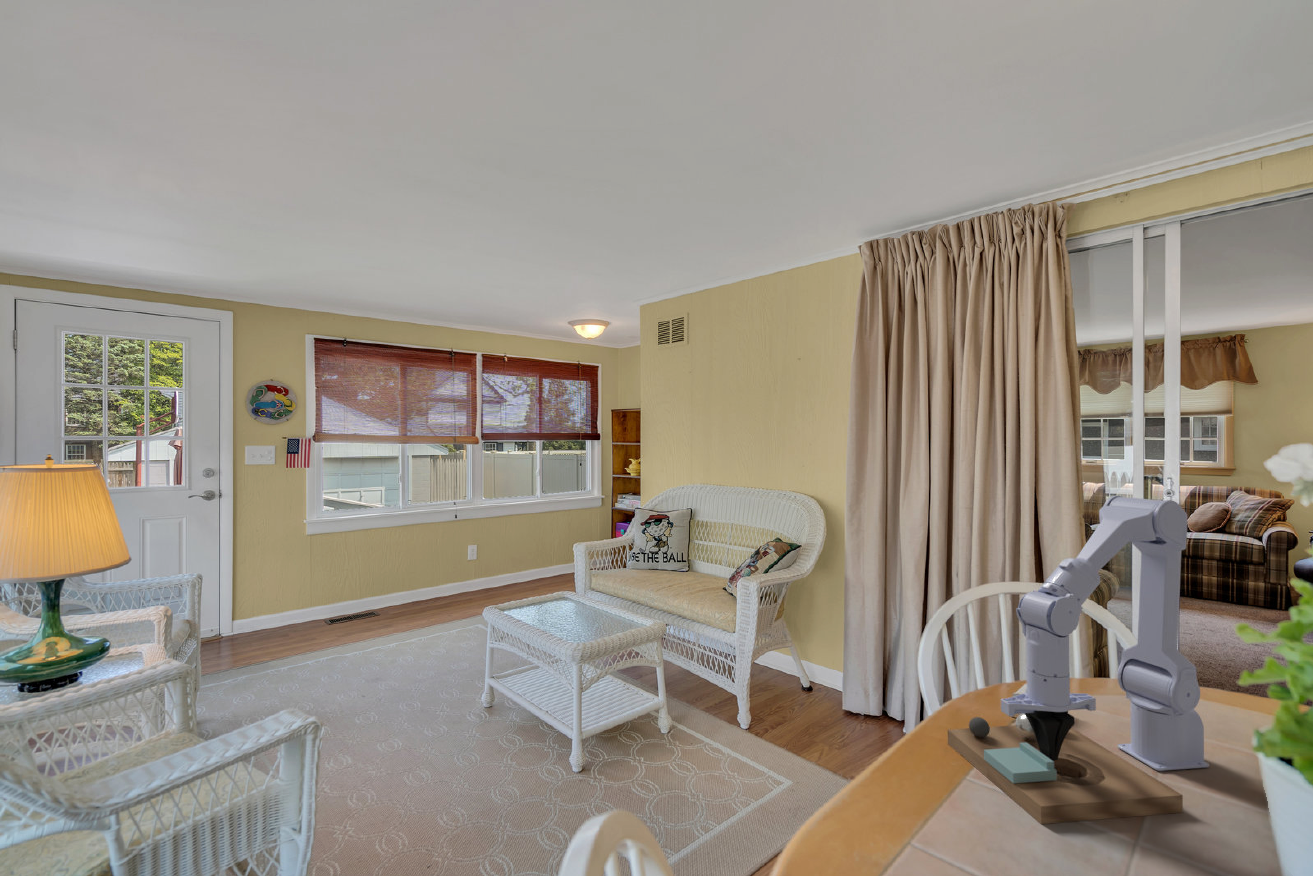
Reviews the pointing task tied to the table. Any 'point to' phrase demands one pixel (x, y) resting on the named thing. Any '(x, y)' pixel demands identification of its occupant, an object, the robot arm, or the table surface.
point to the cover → (1021, 764)
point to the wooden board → (1072, 779)
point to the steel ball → (1025, 727)
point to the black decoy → (979, 727)
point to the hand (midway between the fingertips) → (1048, 757)
